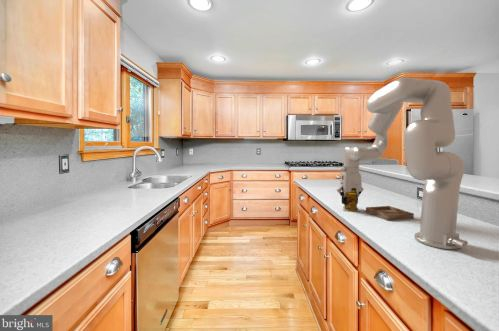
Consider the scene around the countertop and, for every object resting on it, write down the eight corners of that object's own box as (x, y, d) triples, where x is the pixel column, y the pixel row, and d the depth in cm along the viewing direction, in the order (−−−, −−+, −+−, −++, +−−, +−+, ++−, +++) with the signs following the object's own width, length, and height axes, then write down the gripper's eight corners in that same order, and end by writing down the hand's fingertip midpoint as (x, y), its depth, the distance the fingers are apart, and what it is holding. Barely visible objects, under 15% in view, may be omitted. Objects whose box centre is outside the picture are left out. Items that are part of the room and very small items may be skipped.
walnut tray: (413, 218, 106) (413, 213, 105) (388, 220, 103) (388, 215, 102) (388, 210, 119) (389, 205, 119) (365, 211, 116) (366, 207, 116)
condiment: (343, 210, 118) (344, 188, 117) (342, 206, 126) (343, 185, 125) (358, 212, 116) (359, 189, 115) (357, 208, 124) (358, 186, 123)
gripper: (340, 171, 114) (339, 206, 115) (370, 170, 117) (368, 204, 119) (332, 169, 121) (331, 202, 123) (360, 169, 125) (358, 201, 126)
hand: (349, 203), depth 121 cm, fingers closed on condiment, 6 cm apart
